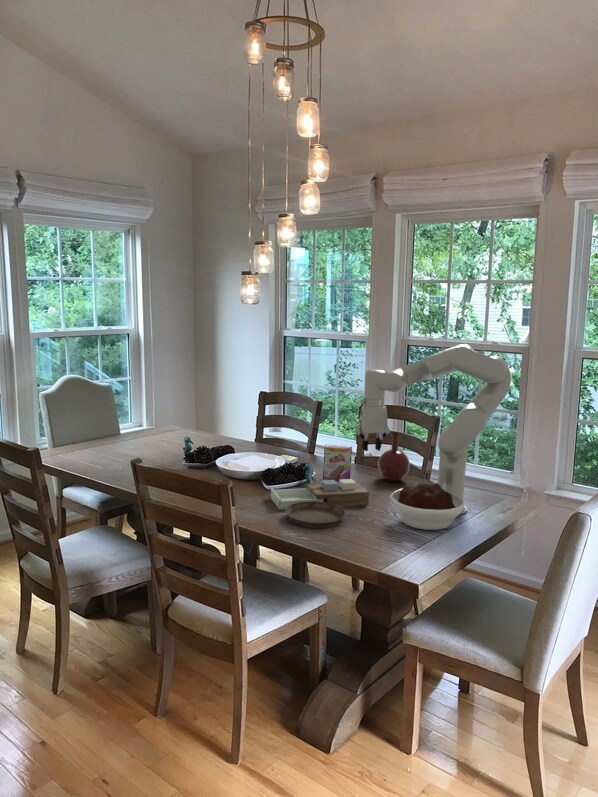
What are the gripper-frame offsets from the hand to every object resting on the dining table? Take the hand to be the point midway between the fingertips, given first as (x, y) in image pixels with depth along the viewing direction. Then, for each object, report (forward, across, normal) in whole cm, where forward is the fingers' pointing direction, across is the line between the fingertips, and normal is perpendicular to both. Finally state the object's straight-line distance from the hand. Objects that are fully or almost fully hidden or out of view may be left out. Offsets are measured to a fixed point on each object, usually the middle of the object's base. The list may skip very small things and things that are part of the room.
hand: (371, 449), depth 257 cm
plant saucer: (+20, -27, -18) cm, 38 cm away
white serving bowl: (+20, +9, -30) cm, 37 cm away
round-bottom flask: (+20, +19, +21) cm, 34 cm away
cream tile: (+14, -9, 0) cm, 17 cm away
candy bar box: (+20, -7, +18) cm, 27 cm away
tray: (+19, -29, 0) cm, 35 cm away
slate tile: (+14, -16, 0) cm, 21 cm away
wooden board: (+19, -13, 0) cm, 23 cm away
